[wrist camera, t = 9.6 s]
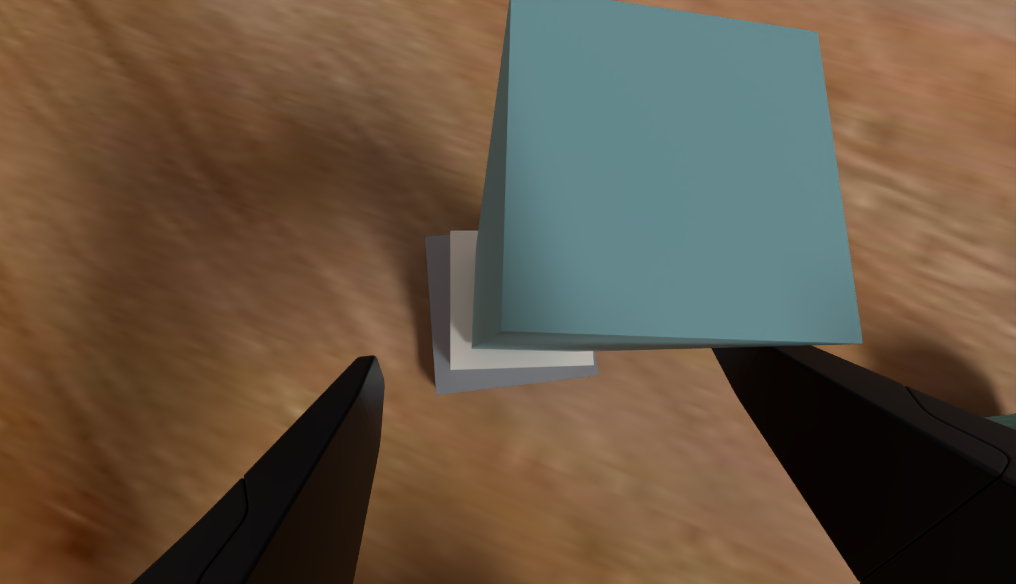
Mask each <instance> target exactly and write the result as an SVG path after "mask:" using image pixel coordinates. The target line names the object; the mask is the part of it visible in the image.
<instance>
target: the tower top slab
mask: <svg viewBox="0 0 1016 584" xmlns="http://www.w3.org/2000/svg"><path fill="white" fill-rule="evenodd" d="M477 236H478V231H450V370H465V369H495V368H525V367H556V366H586V365H594V360H593V351H581V352H567V351H533V350H499V349H471V348H472V325H473V302H474V279H475V257H476V243H477Z"/></svg>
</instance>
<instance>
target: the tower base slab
mask: <svg viewBox="0 0 1016 584" xmlns="http://www.w3.org/2000/svg"><path fill="white" fill-rule="evenodd" d="M425 247H426V261H427V274H428V288H429V302H430V315H431V329H432V343H433V356H434V370H435V384H436V395H441V394H449V393H457V392H465V391H474V390H482V389H490V388H498V387H507V386H515V385H523V384H531V383H540V382H548V381H556V380H565V379H573V378H581V377H589V376H598V375H599V373H598V367H597V360H596V354H595V351H593V360H594V365H586V366H556V367H525V368H495V369H465V370H450V234H447V235H436V236H425Z"/></svg>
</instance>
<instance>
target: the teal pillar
mask: <svg viewBox="0 0 1016 584" xmlns="http://www.w3.org/2000/svg"><path fill="white" fill-rule="evenodd" d="M841 344H863V341H862V334H861V327H860V320H859V313H858V306H857V299H856V293H855V286H854V279H853V272H852V265H851V258H850V251H849V244H848V238H847V231H846V224H845V217H844V210H843V203H842V196H841V190H840V183H839V176H838V169H837V162H836V155H835V148H834V141H833V135H832V128H831V121H830V114H829V107H828V100H827V93H826V87H825V80H824V73H823V66H822V59H821V52H820V45H819V38H818V32H815V31H808V30H802V29H795V28H788V27H782V26H775V25H769V24H762V23H756V22H749V21H743V20H736V19H730V18H723V17H717V16H710V15H703V14H697V13H690V12H684V11H677V10H671V9H664V8H658V7H651V6H645V5H638V4H632V3H625V2H618V1H612V0H509V7H508V15H507V22H506V29H505V37H504V44H503V52H502V59H501V66H500V74H499V81H498V88H497V96H496V103H495V110H494V118H493V125H492V133H491V140H490V147H489V155H488V162H487V169H486V177H485V184H484V191H483V199H482V206H481V214H480V221H479V228H478V236H477V243H476V257H475V279H474V302H473V325H472V348H471V349H499V350H533V351H567V352H581V351H618V350H655V349H692V348H729V347H766V346H804V345H841Z"/></svg>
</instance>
